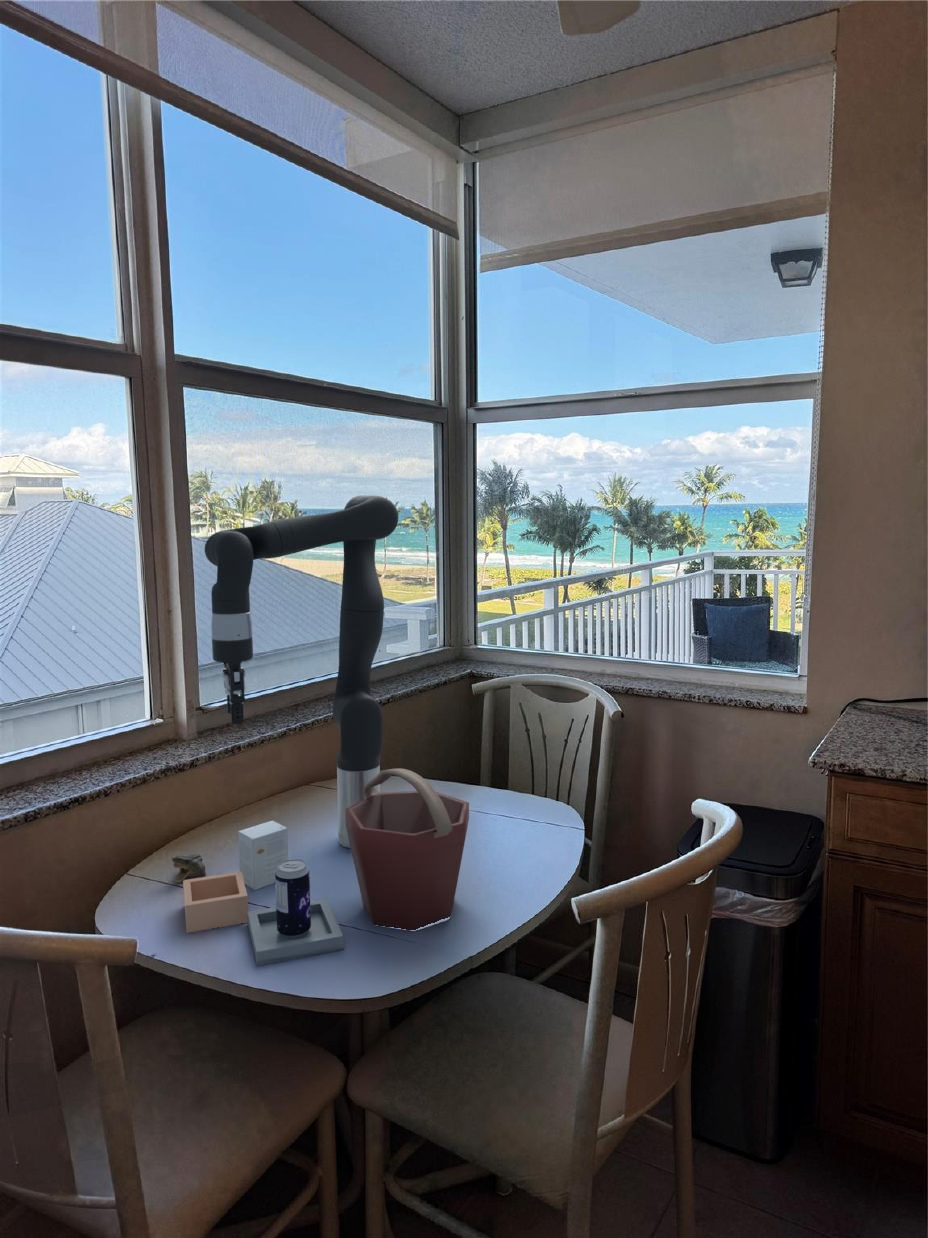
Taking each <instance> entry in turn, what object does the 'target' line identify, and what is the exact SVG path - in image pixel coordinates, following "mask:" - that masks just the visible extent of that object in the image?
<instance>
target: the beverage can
mask: <svg viewBox="0 0 928 1238" xmlns="http://www.w3.org/2000/svg"><path fill="white" fill-rule="evenodd" d="M277 868H278V869H277V871H276V873H275V883H274V885H275V907H276V913H277V931H278V932H279V933H281V934H282V935H283V936H284V937H286V938H298V937H301V936H303V935H304V934H305V933H306V932H307V931H308V930H309V929H310V927H311V908H310V901H311V881H310V878H311V877H310V875H311V874H310V869H309V867H308V863H307V862H306V861H305V860H303V859H300V858H299V859H298V858H291V859H289V860H286V861H283V862H281V863H279V864H278V866H277Z"/></svg>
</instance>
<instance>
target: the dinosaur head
mask: <svg viewBox="0 0 928 1238" xmlns="http://www.w3.org/2000/svg"><path fill="white" fill-rule="evenodd" d="M203 859H204V858H203V857H202V855H201V854H200V853H197V854H196V853H195V854H190V855H182V854H181V855H176V856H174V857H172V858H171V861H172V862H173V868H174V869H175V868H176V869H179V872H178V874H177V875H176V876H175V878H174V880H173V881H174V883H175V884H179V883H183V880H187V878H188V877H196V876H199V877H206V875H207V872H206V866H205V864H204V863H203Z"/></svg>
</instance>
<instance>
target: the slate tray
mask: <svg viewBox="0 0 928 1238" xmlns="http://www.w3.org/2000/svg"><path fill="white" fill-rule="evenodd" d="M310 908H311V927H310V929H309V930H308V931H307V932H306V933H305V934H304V935H303V936H301V937H298V938H286V937H284V936H283V935H282V934H281V933H279V932H278V931H277V913H276V906H274V907H269V908H262V909H257V910H252V911H251V910H249V911H248V912H247V916H248V923H247V927H248V928H247V929H248V931H249V935H250V940H251V945H252V950H253V955H254V958H255V962H256V966H257V967H258V966H264V965H269V964H274V963H279V962H286V961H290V960H295V959H300V958H301V959H302V958H306V957H311V956H316V955H321V954H326V953H327V954H328V953H332V952H338V951H342V950H344V949H345V948H344V946H345V945H344V944H345V943H344V933H343V932H342V930H341V928H340V925H339V923H338V920H337V919H336V916H335V914H334V912H333V909H332V907H331V905H330V902H329V901H328V899H327V898H323V899H322V898H321V899H317V900H310Z"/></svg>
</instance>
